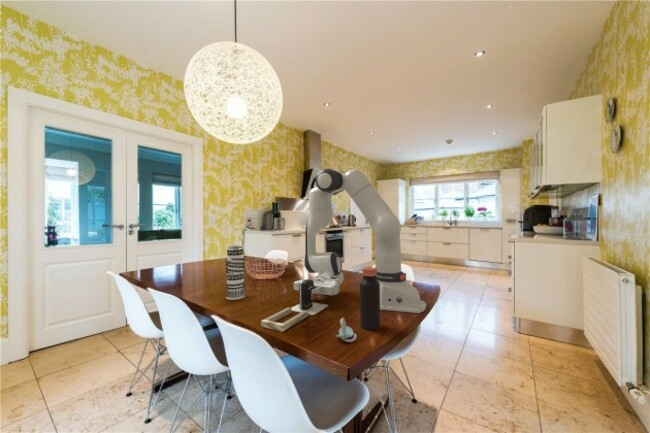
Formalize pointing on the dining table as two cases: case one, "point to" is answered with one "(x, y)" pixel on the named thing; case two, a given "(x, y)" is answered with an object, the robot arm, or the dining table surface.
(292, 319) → the beige rectangular frame
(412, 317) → the dining table surface
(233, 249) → the decorative candle
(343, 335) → the pacifier
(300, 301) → the black upright rounded piece
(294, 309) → the tile pad
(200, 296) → the dining table surface
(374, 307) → the bottle
